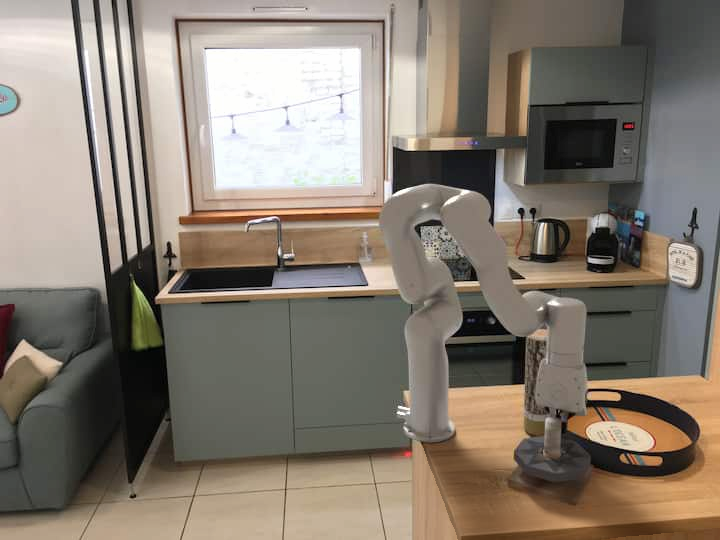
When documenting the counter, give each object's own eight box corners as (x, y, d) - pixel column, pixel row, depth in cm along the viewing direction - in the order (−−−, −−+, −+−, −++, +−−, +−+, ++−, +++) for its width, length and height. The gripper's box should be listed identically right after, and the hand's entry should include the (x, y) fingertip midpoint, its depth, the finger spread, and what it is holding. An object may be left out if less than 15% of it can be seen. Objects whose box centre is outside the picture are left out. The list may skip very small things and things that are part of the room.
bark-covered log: (547, 423, 160) (550, 328, 154) (556, 436, 153) (560, 338, 147) (520, 424, 159) (522, 329, 153) (528, 438, 153) (531, 339, 147)
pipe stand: (507, 485, 134) (508, 426, 131) (529, 454, 145) (531, 400, 142) (575, 505, 127) (578, 443, 123) (593, 471, 138) (596, 414, 135)
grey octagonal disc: (506, 468, 133) (506, 460, 133) (529, 438, 145) (529, 430, 144) (577, 488, 125) (577, 479, 125) (595, 455, 137) (595, 446, 137)
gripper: (523, 355, 136) (519, 433, 141) (596, 369, 128) (589, 451, 133) (535, 344, 142) (530, 419, 147) (605, 357, 134) (598, 436, 139)
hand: (558, 434), depth 140 cm, fingers closed
